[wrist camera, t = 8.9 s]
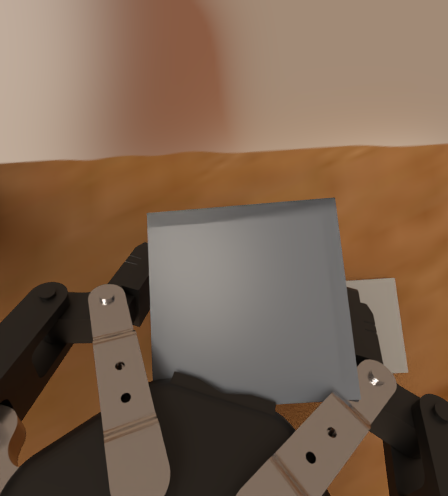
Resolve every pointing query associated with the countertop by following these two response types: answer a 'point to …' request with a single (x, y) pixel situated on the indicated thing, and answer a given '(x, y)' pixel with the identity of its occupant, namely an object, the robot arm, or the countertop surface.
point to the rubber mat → (384, 319)
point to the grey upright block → (253, 300)
